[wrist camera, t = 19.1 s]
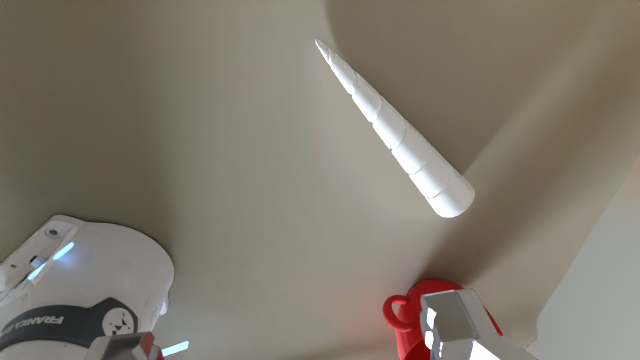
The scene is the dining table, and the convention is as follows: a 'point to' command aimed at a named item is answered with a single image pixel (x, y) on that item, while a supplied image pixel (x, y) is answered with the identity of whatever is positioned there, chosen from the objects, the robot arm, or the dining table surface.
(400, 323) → the ceramic cup
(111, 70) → the dining table surface
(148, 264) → the robot arm
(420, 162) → the unicorn horn
